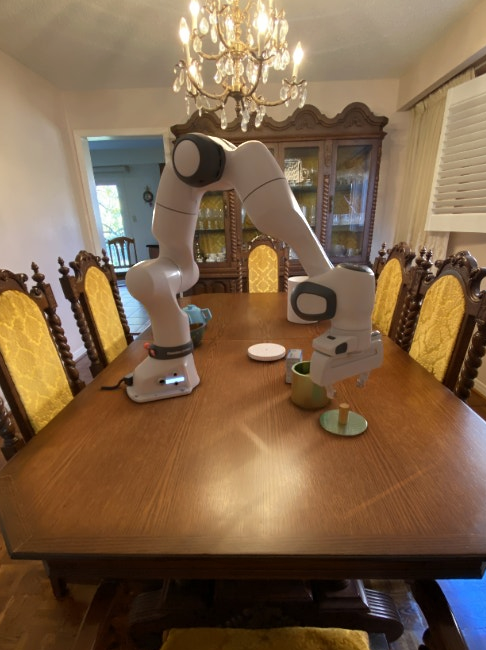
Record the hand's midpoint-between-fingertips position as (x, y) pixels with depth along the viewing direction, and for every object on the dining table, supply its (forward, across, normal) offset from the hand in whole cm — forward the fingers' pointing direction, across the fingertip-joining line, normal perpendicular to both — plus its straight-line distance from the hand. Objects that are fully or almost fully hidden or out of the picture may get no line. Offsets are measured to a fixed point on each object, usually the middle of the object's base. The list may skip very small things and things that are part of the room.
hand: (346, 391), depth 83 cm
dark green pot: (+9, +15, -76) cm, 78 cm away
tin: (+9, -1, -14) cm, 17 cm away
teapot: (+9, +1, -100) cm, 101 cm away
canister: (+9, -51, -80) cm, 95 cm away
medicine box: (+9, -6, -28) cm, 30 cm away
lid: (+9, 0, 0) cm, 9 cm away
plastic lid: (+9, -9, -49) cm, 51 cm away
